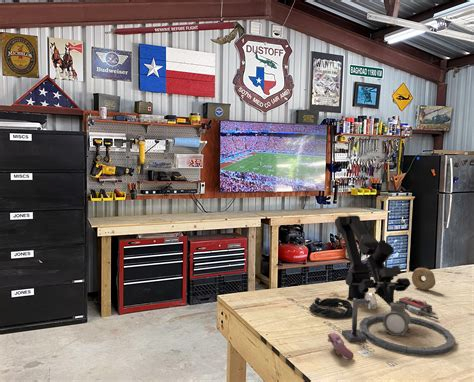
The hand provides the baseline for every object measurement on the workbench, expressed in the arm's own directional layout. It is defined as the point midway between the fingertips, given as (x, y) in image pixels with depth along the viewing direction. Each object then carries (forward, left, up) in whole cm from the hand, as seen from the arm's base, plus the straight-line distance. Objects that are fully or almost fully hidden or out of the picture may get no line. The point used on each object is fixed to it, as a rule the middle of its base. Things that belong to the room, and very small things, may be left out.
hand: (392, 306), depth 152 cm
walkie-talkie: (+7, +21, -7) cm, 23 cm away
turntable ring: (+6, -7, -7) cm, 11 cm away
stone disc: (+3, +53, -7) cm, 53 cm away
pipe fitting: (+3, -4, -7) cm, 9 cm away
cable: (-23, 0, -7) cm, 24 cm away
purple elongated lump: (-9, -33, -7) cm, 35 cm away
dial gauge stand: (-7, -18, -7) cm, 21 cm away
